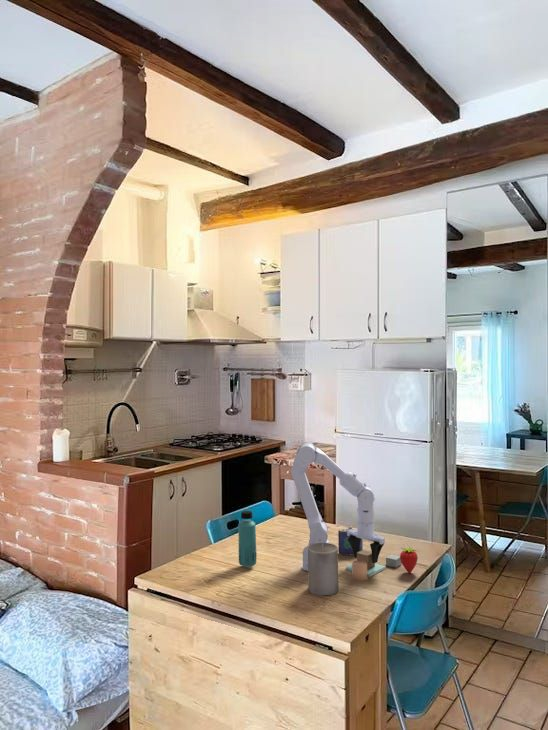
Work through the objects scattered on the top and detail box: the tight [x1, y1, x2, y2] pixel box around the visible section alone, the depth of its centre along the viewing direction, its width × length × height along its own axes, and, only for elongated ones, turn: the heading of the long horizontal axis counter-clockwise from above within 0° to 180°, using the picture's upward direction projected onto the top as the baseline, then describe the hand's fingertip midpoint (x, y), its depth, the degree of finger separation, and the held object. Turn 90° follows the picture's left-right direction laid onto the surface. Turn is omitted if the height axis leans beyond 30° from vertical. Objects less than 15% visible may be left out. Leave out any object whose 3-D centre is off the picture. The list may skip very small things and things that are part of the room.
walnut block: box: [356, 549, 375, 570], centre depth 198 cm, size 4×4×5 cm
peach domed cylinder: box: [351, 560, 368, 582], centre depth 190 cm, size 5×5×5 cm
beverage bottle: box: [237, 510, 257, 567], centre depth 200 cm, size 6×7×20 cm
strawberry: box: [399, 543, 419, 574], centre depth 194 cm, size 6×8×10 cm
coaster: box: [345, 563, 387, 578], centre depth 198 cm, size 10×10×1 cm
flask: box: [337, 525, 364, 556], centre depth 213 cm, size 9×3×11 cm, turn 88°
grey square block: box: [385, 554, 402, 569], centre depth 202 cm, size 4×4×3 cm
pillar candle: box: [307, 542, 340, 596], centre depth 180 cm, size 10×10×15 cm
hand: (365, 559), depth 198 cm, fingers open, 7 cm apart
